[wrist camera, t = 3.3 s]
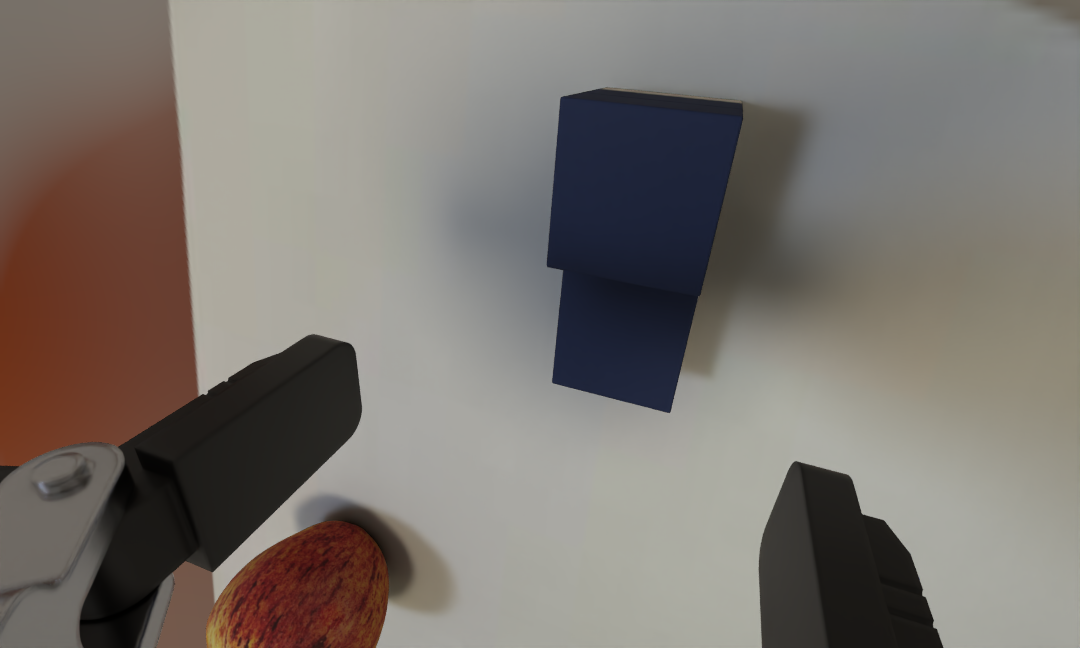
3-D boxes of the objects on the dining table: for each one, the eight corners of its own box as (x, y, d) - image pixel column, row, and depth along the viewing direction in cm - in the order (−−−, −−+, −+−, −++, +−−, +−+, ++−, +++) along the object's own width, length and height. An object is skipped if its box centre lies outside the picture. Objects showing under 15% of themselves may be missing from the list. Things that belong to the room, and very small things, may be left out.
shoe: (605, 87, 17) (560, 96, 13) (742, 101, 16) (743, 116, 12) (574, 343, 22) (533, 414, 18) (679, 368, 21) (662, 449, 17)
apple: (445, 570, 32) (342, 749, 24) (378, 608, 37) (273, 769, 29) (338, 471, 32) (192, 621, 23) (284, 524, 36) (146, 664, 28)
